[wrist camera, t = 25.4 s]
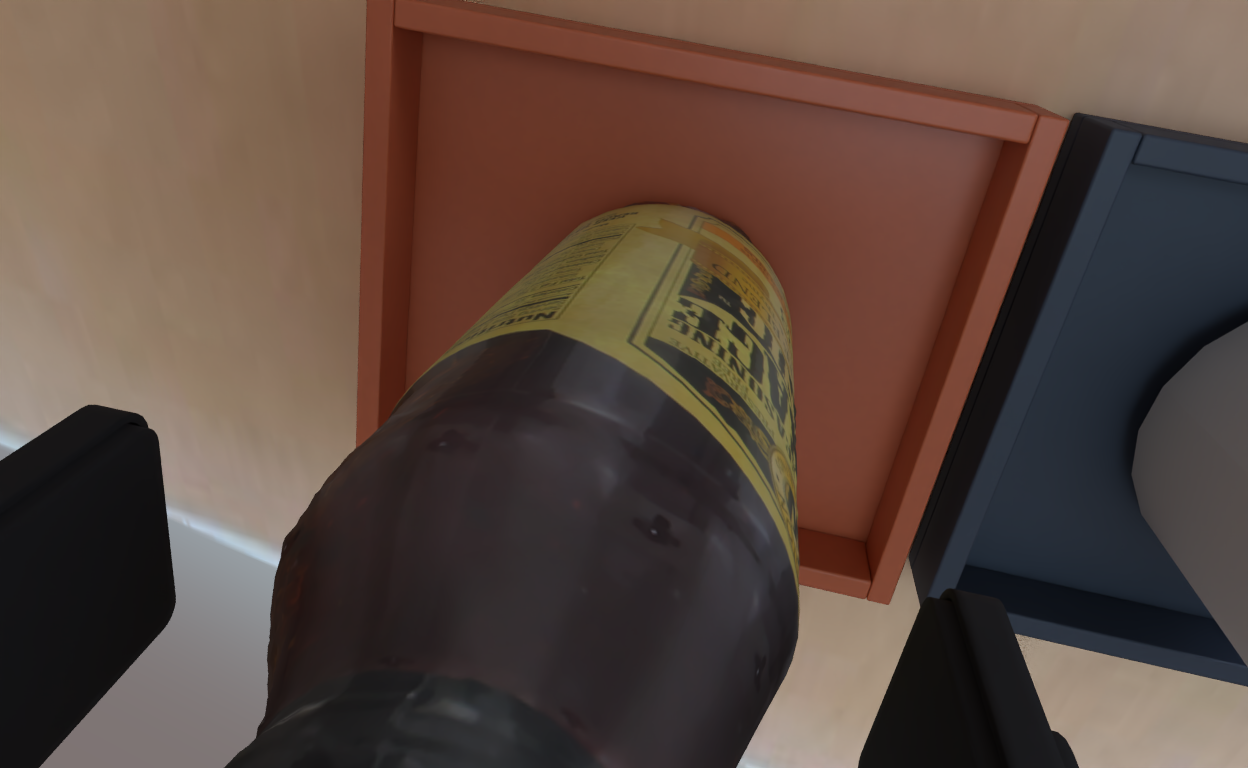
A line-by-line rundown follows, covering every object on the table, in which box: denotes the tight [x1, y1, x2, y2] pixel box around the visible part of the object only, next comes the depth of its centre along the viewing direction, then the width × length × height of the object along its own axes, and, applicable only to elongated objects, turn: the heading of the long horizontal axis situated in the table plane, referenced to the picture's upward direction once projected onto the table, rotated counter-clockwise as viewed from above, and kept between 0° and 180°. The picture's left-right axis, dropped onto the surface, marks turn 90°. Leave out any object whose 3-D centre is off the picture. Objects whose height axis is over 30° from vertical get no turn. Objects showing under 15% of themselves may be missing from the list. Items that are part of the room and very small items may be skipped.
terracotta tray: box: [356, 0, 1069, 605], centre depth 21 cm, size 14×12×2 cm
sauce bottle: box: [225, 201, 800, 768], centre depth 13 cm, size 6×6×20 cm
